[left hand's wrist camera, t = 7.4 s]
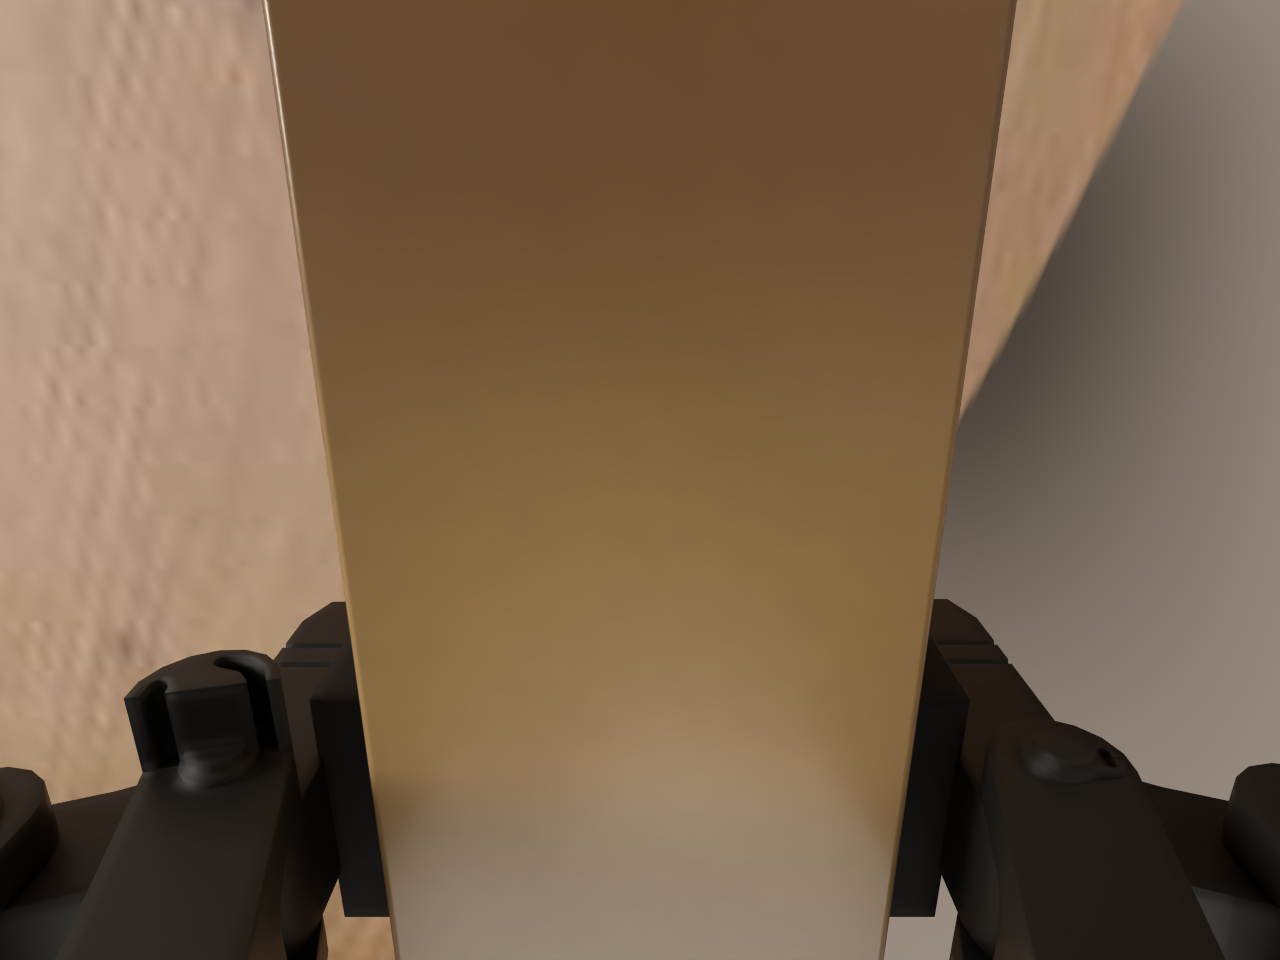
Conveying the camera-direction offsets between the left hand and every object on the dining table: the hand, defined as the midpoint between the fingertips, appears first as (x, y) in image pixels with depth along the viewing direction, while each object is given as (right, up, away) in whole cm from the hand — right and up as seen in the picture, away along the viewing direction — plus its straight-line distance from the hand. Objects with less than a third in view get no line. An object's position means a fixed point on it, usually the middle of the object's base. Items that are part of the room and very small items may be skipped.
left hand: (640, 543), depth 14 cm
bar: (0, +6, -2) cm, 7 cm away
